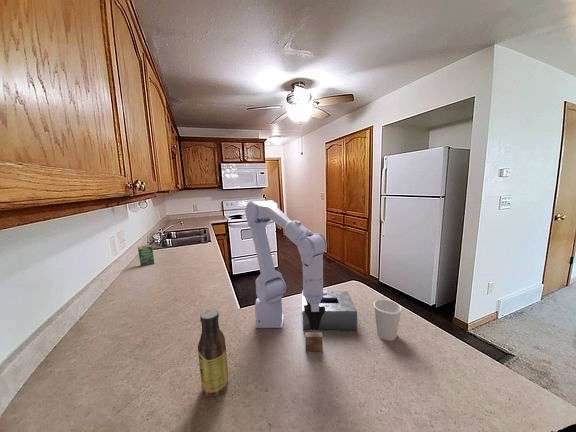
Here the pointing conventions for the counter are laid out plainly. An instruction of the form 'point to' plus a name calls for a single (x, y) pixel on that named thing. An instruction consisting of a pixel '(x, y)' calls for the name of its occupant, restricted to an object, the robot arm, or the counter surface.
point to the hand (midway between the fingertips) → (313, 321)
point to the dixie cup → (387, 318)
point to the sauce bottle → (212, 355)
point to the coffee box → (146, 255)
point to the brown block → (314, 342)
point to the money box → (334, 312)
